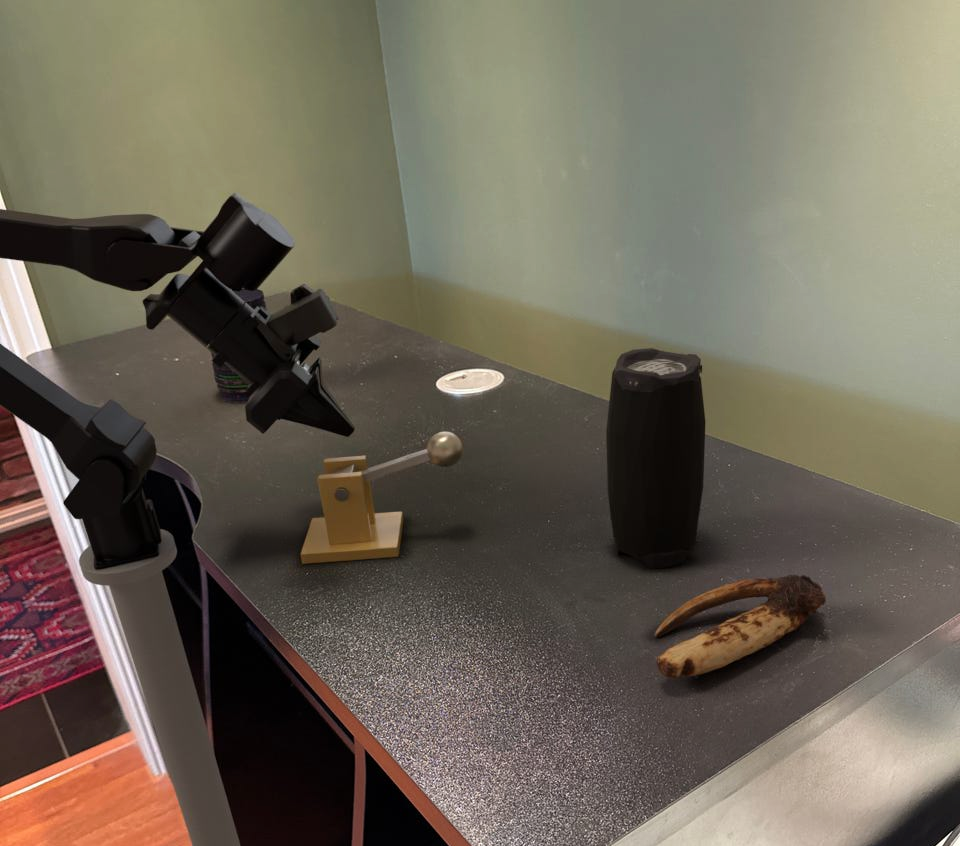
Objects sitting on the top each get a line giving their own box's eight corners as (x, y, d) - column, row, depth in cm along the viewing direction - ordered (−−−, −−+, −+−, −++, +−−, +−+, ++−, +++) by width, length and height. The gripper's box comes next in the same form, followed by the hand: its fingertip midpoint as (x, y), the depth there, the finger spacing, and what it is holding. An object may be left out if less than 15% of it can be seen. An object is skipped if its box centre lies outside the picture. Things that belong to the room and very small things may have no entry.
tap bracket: (403, 520, 101) (393, 447, 97) (398, 557, 94) (387, 479, 90) (313, 527, 101) (300, 454, 97) (302, 564, 94) (286, 487, 90)
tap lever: (467, 452, 95) (455, 421, 93) (467, 466, 91) (455, 435, 90) (341, 493, 97) (327, 464, 95) (337, 509, 94) (322, 479, 92)
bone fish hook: (760, 585, 85) (609, 654, 76) (763, 540, 83) (608, 606, 74) (845, 627, 77) (688, 708, 69) (850, 578, 75) (689, 656, 67)
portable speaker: (715, 541, 91) (725, 352, 82) (666, 582, 85) (671, 384, 76) (641, 519, 97) (643, 339, 87) (590, 557, 91) (587, 367, 81)
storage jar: (289, 393, 141) (267, 276, 133) (226, 407, 138) (199, 288, 129) (273, 376, 149) (251, 264, 141) (213, 389, 146) (186, 276, 137)
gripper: (269, 277, 76) (408, 401, 81) (291, 248, 93) (405, 353, 98) (185, 373, 78) (325, 487, 84) (222, 328, 95) (336, 426, 101)
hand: (351, 432), depth 92 cm, fingers closed
